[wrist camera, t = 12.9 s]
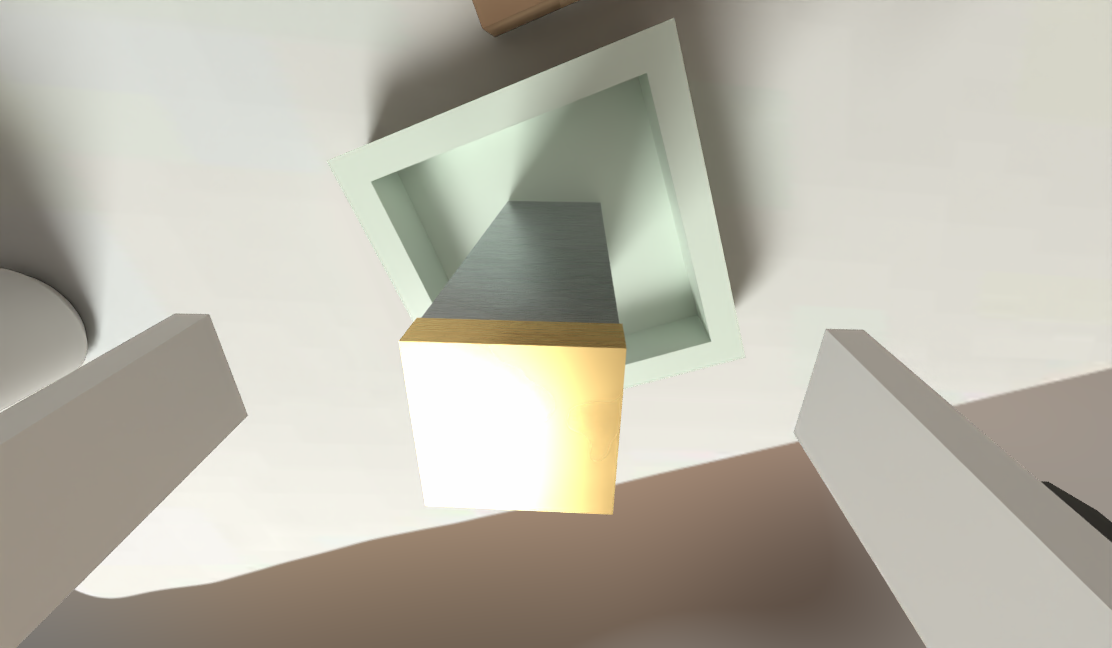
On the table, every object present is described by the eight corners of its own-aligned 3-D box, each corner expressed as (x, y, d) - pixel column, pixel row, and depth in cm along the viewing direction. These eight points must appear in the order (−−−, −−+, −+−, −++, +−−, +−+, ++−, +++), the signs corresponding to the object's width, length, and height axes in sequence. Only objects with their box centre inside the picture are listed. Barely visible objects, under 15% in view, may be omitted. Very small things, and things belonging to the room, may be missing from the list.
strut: (510, 287, 22) (425, 505, 10) (506, 199, 20) (399, 341, 8) (597, 290, 22) (612, 514, 10) (601, 201, 20) (626, 348, 8)
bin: (366, 151, 20) (326, 160, 17) (658, 31, 18) (674, 17, 15) (484, 388, 25) (470, 429, 22) (723, 321, 23) (745, 357, 20)
